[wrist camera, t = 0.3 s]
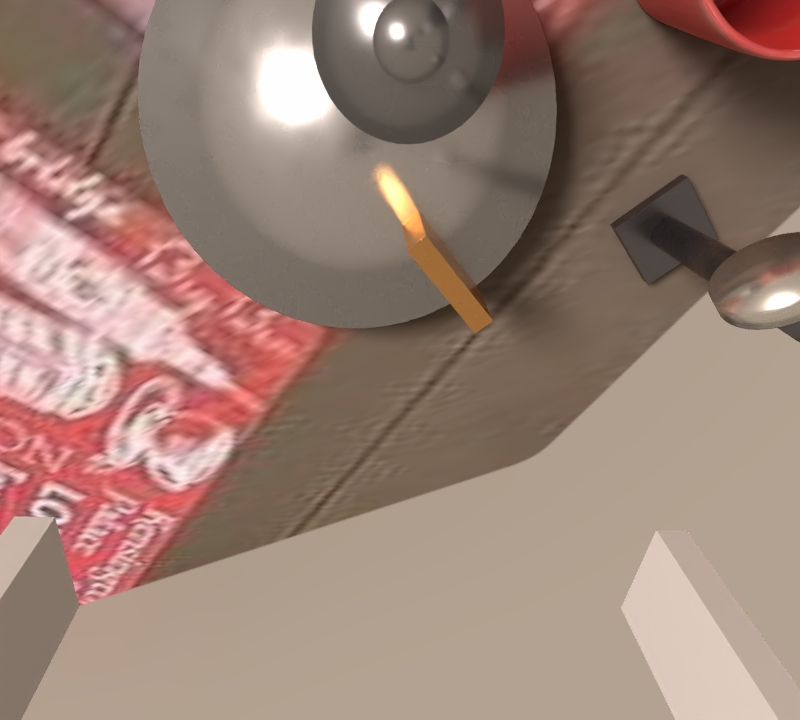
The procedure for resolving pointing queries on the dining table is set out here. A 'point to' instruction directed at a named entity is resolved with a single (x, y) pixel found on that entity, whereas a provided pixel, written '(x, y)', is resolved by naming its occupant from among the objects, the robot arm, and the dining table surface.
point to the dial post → (715, 259)
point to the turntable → (335, 168)
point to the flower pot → (736, 24)
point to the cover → (408, 62)
